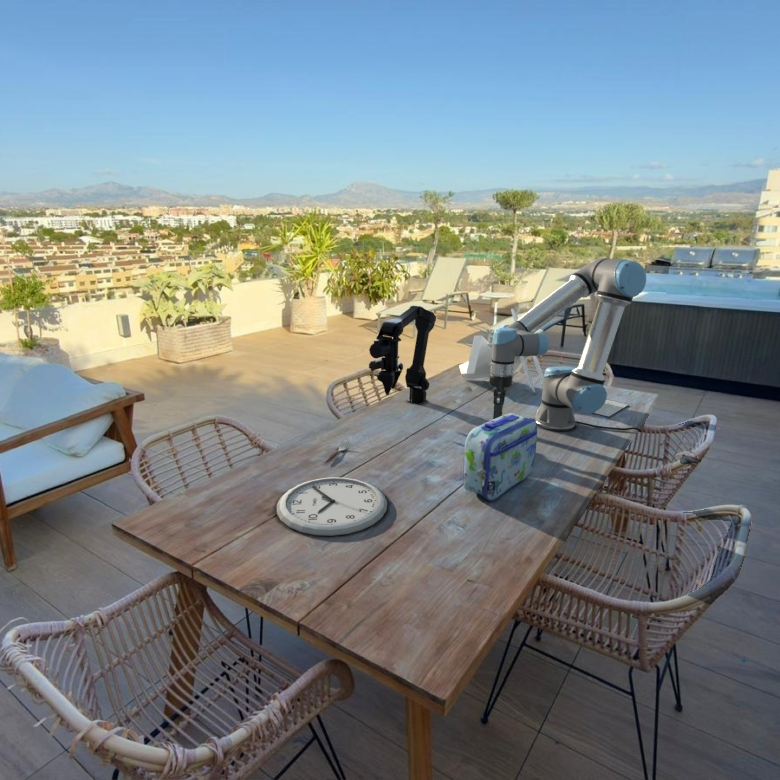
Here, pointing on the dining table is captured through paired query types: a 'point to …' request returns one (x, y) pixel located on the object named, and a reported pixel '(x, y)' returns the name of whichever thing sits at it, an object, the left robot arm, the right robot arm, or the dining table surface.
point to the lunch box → (499, 455)
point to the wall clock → (331, 506)
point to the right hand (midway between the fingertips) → (495, 438)
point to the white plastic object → (482, 359)
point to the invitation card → (610, 408)
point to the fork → (338, 451)
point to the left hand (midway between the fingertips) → (390, 391)
